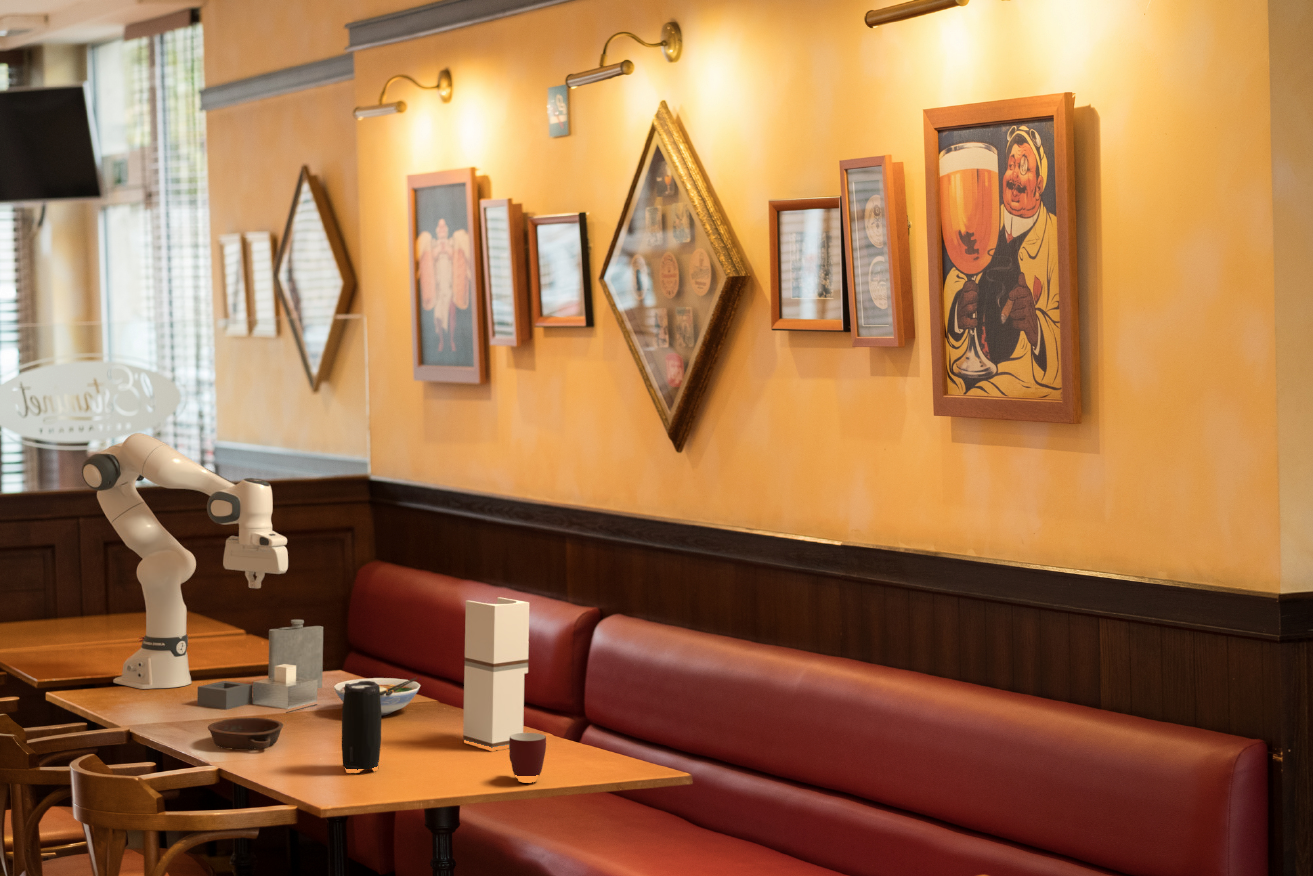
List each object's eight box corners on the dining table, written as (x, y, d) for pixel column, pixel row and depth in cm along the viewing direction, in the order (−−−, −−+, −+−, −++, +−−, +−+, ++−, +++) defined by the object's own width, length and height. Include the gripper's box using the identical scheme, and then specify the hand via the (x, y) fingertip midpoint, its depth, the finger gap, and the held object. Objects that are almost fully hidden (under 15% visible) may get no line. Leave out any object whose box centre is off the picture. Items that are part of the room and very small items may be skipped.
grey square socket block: (197, 709, 396) (197, 686, 396) (223, 702, 405) (224, 680, 405) (226, 713, 391) (226, 690, 391) (252, 706, 400) (252, 684, 400)
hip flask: (319, 685, 432) (320, 617, 431) (325, 688, 428) (326, 618, 428) (266, 690, 423) (267, 620, 422) (271, 693, 419) (272, 622, 419)
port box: (252, 707, 399) (252, 681, 399) (282, 700, 410) (282, 674, 410) (287, 712, 394) (288, 686, 394) (317, 705, 405) (317, 679, 404)
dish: (226, 759, 343) (226, 737, 343) (193, 740, 361) (194, 720, 361) (298, 750, 354) (298, 729, 354) (263, 732, 372) (263, 712, 371)
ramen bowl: (355, 701, 410) (355, 672, 410) (433, 706, 406) (434, 676, 405) (316, 720, 386) (317, 688, 386) (399, 725, 381) (400, 694, 381)
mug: (493, 779, 330) (494, 734, 329) (521, 773, 335) (522, 729, 335) (525, 788, 322) (525, 742, 322) (552, 782, 328) (553, 737, 328)
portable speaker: (363, 763, 341) (364, 678, 341) (388, 770, 335) (390, 684, 335) (332, 769, 335) (334, 683, 334) (358, 777, 329) (359, 689, 328)
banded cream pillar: (526, 745, 362) (529, 602, 362) (492, 752, 355) (494, 605, 354) (497, 737, 371) (500, 597, 370) (463, 743, 363) (465, 600, 362)
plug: (274, 703, 401) (274, 666, 401) (284, 700, 404) (284, 664, 404) (285, 704, 399) (286, 667, 399) (295, 702, 403) (296, 665, 402)
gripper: (218, 536, 410) (217, 586, 410) (276, 540, 401) (275, 591, 401) (234, 534, 416) (233, 583, 416) (292, 539, 407) (291, 589, 407)
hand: (254, 587), depth 409 cm, fingers closed
